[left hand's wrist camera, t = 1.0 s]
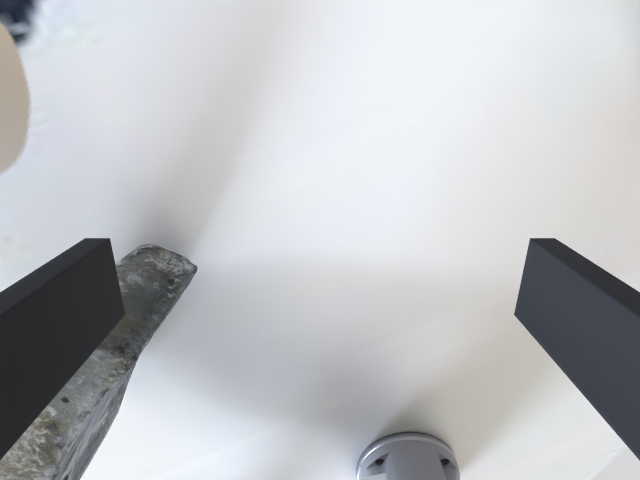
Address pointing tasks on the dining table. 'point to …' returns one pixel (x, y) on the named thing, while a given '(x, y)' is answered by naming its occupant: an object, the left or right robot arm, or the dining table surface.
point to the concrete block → (101, 373)
